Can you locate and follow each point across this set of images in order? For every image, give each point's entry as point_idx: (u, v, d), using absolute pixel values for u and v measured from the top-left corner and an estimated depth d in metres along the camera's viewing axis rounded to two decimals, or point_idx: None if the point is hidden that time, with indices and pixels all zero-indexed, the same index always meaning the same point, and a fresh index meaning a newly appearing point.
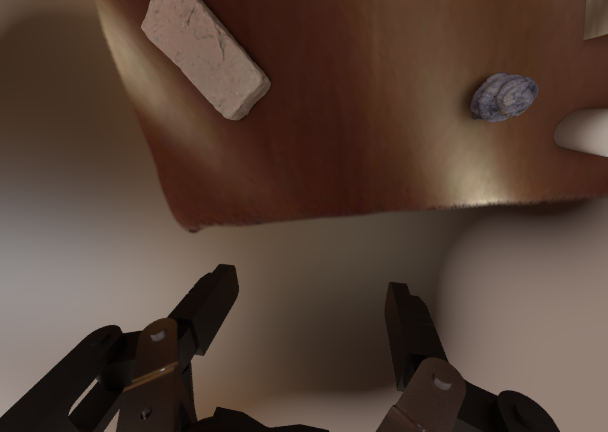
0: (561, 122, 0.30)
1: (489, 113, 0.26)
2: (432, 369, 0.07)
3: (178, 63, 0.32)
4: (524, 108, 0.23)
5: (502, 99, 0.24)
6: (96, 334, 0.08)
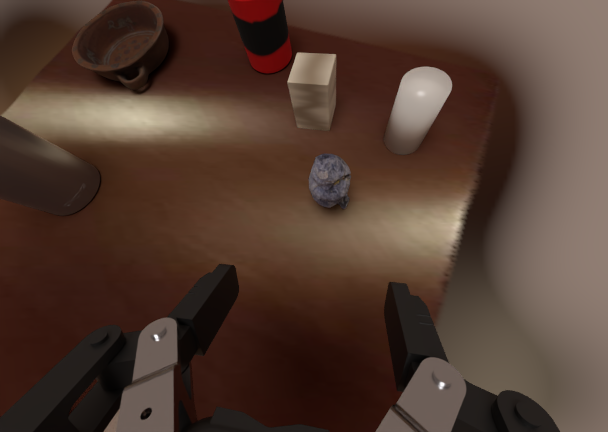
0: (388, 148, 0.32)
1: (333, 193, 0.23)
2: (432, 369, 0.07)
3: None
4: (340, 165, 0.22)
5: (321, 179, 0.22)
6: (97, 334, 0.08)
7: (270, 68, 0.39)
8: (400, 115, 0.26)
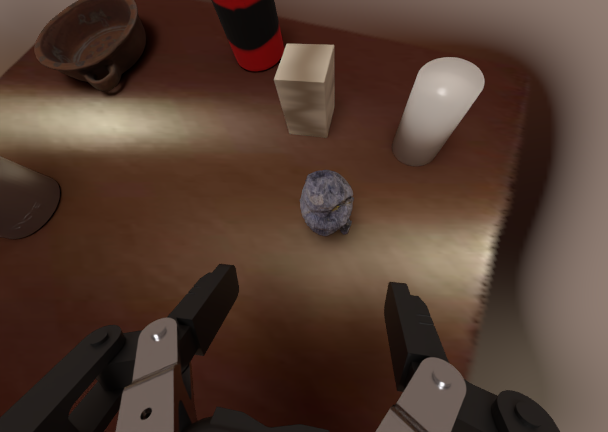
0: (398, 158, 0.26)
1: (330, 221, 0.18)
2: (432, 369, 0.07)
3: None
4: (340, 186, 0.17)
5: (315, 205, 0.17)
6: (97, 334, 0.08)
7: (258, 65, 0.33)
8: (415, 119, 0.21)
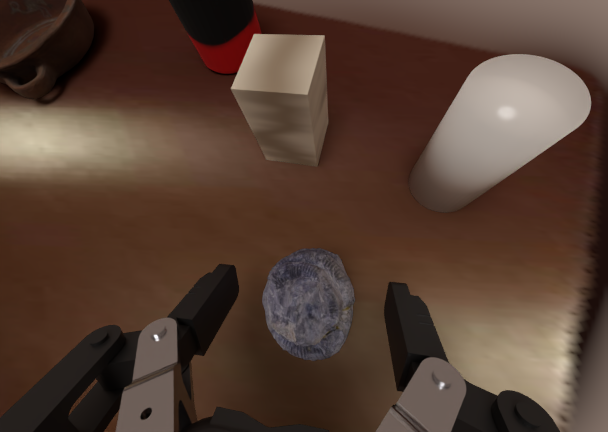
0: (419, 200, 0.18)
1: (313, 353, 0.10)
2: (432, 369, 0.07)
3: None
4: (329, 300, 0.09)
5: (282, 335, 0.09)
6: (96, 334, 0.08)
7: (229, 66, 0.25)
8: (455, 155, 0.13)
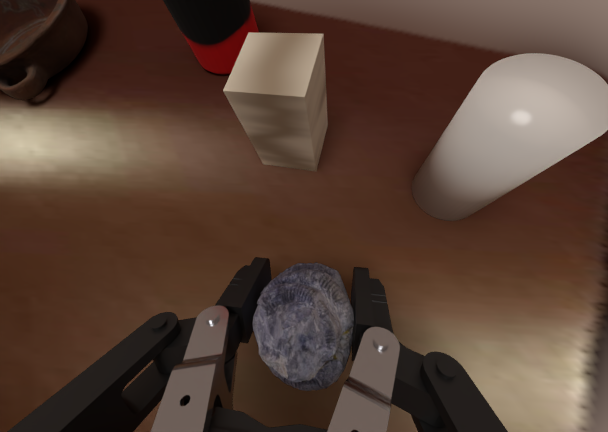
0: (423, 207, 0.17)
1: (308, 383, 0.09)
2: (373, 336, 0.08)
3: None
4: (326, 328, 0.08)
5: (273, 367, 0.08)
6: (158, 319, 0.09)
7: (225, 66, 0.24)
8: (463, 163, 0.12)
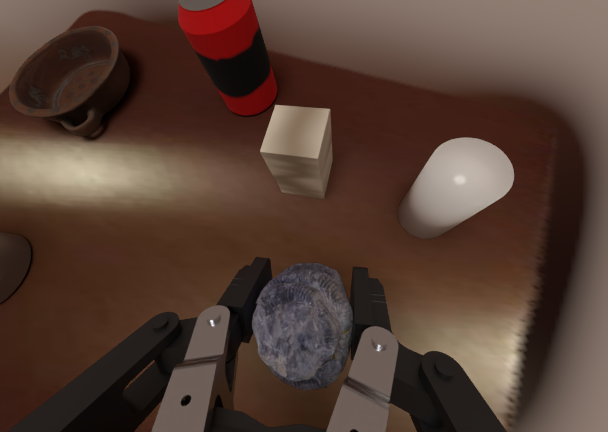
0: (405, 228, 0.23)
1: (308, 383, 0.09)
2: (372, 335, 0.08)
3: None
4: (325, 328, 0.08)
5: (272, 367, 0.08)
6: (159, 318, 0.09)
7: (249, 110, 0.30)
8: (426, 205, 0.17)
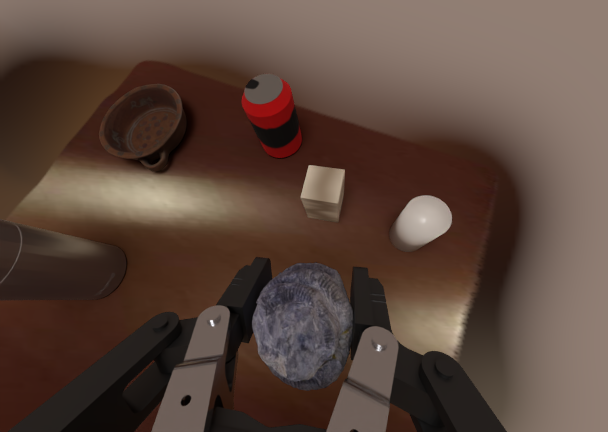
0: (394, 244, 0.34)
1: (308, 383, 0.09)
2: (372, 335, 0.08)
3: None
4: (325, 328, 0.08)
5: (272, 367, 0.08)
6: (159, 318, 0.09)
7: (282, 155, 0.41)
8: (404, 233, 0.29)
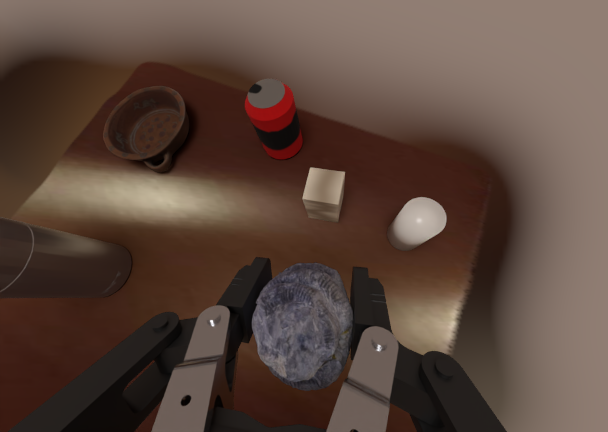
0: (391, 244, 0.36)
1: (308, 383, 0.09)
2: (372, 335, 0.08)
3: None
4: (325, 328, 0.08)
5: (272, 367, 0.08)
6: (159, 318, 0.09)
7: (283, 157, 0.43)
8: (401, 233, 0.30)
